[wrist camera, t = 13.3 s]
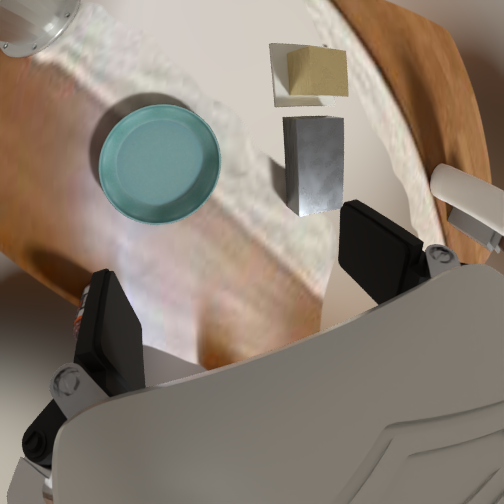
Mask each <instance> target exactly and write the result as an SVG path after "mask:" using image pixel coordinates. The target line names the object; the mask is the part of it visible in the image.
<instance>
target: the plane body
mask: <svg viewBox="0 0 504 504" xmlns="http://www.w3.org/2000/svg"><path fill="white" fill-rule="evenodd" d="M283 132H284V148H285V168H286V191H287V207H288V208H290V209H291V210H292V211H293V212H294V213H296V214H297V215H298V216H299V217H300V216H305V215H310V214H315V213H320V212H325V211H329V210H334V209H340V208H341V207H342V199H343V172H344V170H343V169H344V118H339V117H332V116H301V117H283Z"/></svg>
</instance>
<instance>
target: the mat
mask: <svg viewBox="0 0 504 504" xmlns="http://www.w3.org/2000/svg"><path fill="white" fill-rule="evenodd" d="M307 46H308V45H296V44H277V43H271V44H269V48H270V58H271V69H272V79H273V92H274V103H275V107H288V106H335V96H312V95H289V80H288V66H287V53H289V52H292V51H295V50H298V49H301V48H304V47H307ZM315 47H317V46H315ZM323 48H326V47H323ZM330 49H331V48H330Z"/></svg>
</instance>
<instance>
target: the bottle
mask: <svg viewBox="0 0 504 504" xmlns="http://www.w3.org/2000/svg"><path fill="white" fill-rule="evenodd" d="M430 189H431V193H432V194H433V196H435V197H437V198H438V199H440V200H442V201H445V202H447V203H449V204H451V205H453V206H454V207H456V208H458V209H460V210H462V211H463V212H465V213H467V214H469V215H470V216H472V217H474V218H476V219H477V220H479V221H481V222H482V223H484V224H485V225H487V226H489V227H490V228H492V229H493V230H495V231H497V232H498V233H500V234H501V235H503V236H504V191H503V190H501V189H499V188H497V187H495V186H493V185H491V184H489V183H487V182H485V181H483V180H481V179H479V178H477V177H474V176H472V175H470V174H468V173H465V172H463V171H461V170H458V169H456V168H454V167H452V166H450V165H446V164H444V163H441V164H439V165H437V166H436V168H435V169H434V170H433V173H432V175H431V180H430Z"/></svg>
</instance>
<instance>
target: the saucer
mask: <svg viewBox="0 0 504 504" xmlns="http://www.w3.org/2000/svg"><path fill="white" fill-rule="evenodd" d="M220 169H221V154H220V148H219V144H218V141H217V139H216V136H215V134H214V133H213V131H212V129H211V128H210V126H209V125H208V124H207V123H206V122H205V121H204V120H203V119H202V118H201V117H200V116H198V115H197V114H195V113H194V112H192V111H190V110H188V109H186V108H183V107H180V106H176V105H170V104H156V105H150V106H146V107H142V108H140V109H137V110H135V111H133V112H131V113H130V114H128V115H127V116H125V117H124V118H123V119H121V120H120V121H119V122H118V123H117V124H116V125H115V126H114V127H113V129H112V130H111V131H110V133H109V134H108V136H107V138H106V140H105V142H104V144H103V146H102V149H101V153H100V157H99V178H100V183H101V186H102V189H103V191H104V194H105V195H106V197H107V199H108V200H109V202H110V203H111V204H112V205H113V206H114V207H115V208H116V209H117V210H118V211H119V212H120V213H122V214H123V215H124V216H126V217H128V218H130V219H132V220H134V221H137V222H140V223H144V224H150V225H162V224H170V223H174V222H177V221H180V220H182V219H184V218H186V217H188V216H190V215H192V214H193V213H194V212H196V211H197V210H198V209H199V208H200V207H201V206H202V205H203V204H204V203H205V202H206V201H207V200H208V198H209V197H210V196H211V194H212V192H213V190H214V189H215V186H216V184H217V181H218V178H219V174H220Z"/></svg>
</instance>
